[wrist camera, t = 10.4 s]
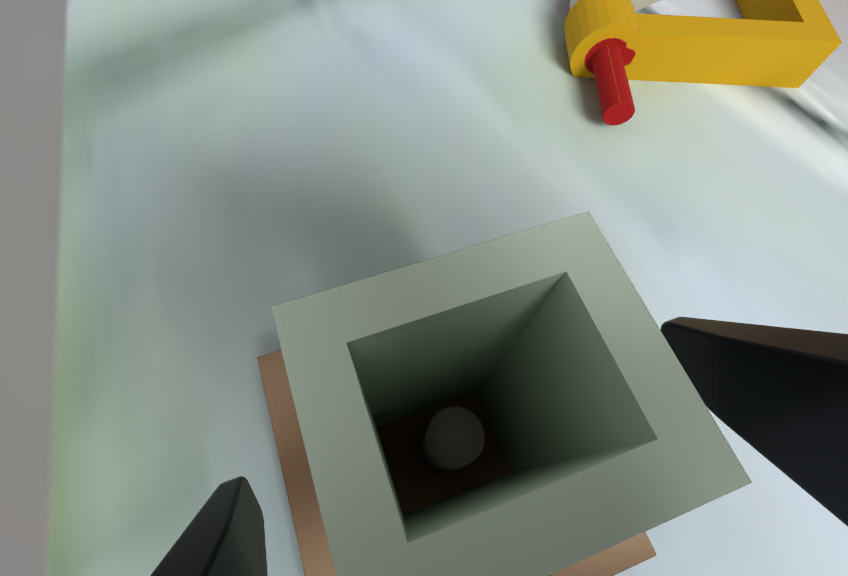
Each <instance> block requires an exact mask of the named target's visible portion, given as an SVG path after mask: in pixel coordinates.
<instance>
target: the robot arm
mask: <svg viewBox="0 0 848 576" xmlns="http://www.w3.org/2000/svg"><path fill="white" fill-rule="evenodd" d="M661 332H662V334H663V336H664V337H665V339H666V341H667V342H668V344H669V346H670V347H671V349H672V351H673V352H674V354H675V356H676V357H677V359H678V360H679V362H680V364H681V365H682V367H683V369H684V370H685V372H686V374H687V375H688V377H689V379H690V380H691V382H692V384H693V385H694V387H695V389H696V390H697V392H698V394H699V395H700V397H701V399H702V400H703V402H704V404H705V405H706V406H707V407H708V408H709V409H710V410H711V411H712V412H713V413H714V414H715V415H716V416H717V417H718V418H719V419H720V420H721V421H723V422H724V423H725V424H726V425H727V426H728V427H730V428H731V429H732V430H733V431H734V432H735V433H737V434H738V435H739V436H740V437H741V438H743V439H744V440H745V441H746V442H747V443H749V444H750V445H751V446H752V447H753V448H755V449H756V450H757V451H758V452H759V453H761V454H762V455H763V456H764V457H765V458H767V459H768V460H769V461H770V462H771V463H773V464H774V465H775V466H776V467H777V468H779V469H780V470H781V471H782V472H783V473H784V474H786V475H787V476H788V477H789V478H790V479H792V480H793V481H794V482H795V483H796V484H798V485H799V486H800V487H801V488H802V489H804V490H805V491H806V492H807V493H808V494H810V495H811V496H812V497H813V498H814V499H816V500H817V501H818V502H819V503H820V504H822V505H823V506H824V507H825V508H826V509H828V510H829V511H830V512H831V513H832V514H834V515H835V516H836V517H837V518H838V519H839V520H841V521H842V522H843V523H844V524H845V525H847V526H848V334H841V333H831V332H821V331H812V330H802V329H793V328H783V327H774V326H764V325H755V324H745V323H736V322H726V321H717V320H707V319H697V318H688V317H677V318H675V319H672V320H669V321H666V322H664V323H663V324H662V326H661ZM150 576H267V562H266V547H265V533H264V520H263V514H262V511H261V508H260V505H259V503H258V501H257V499H256V497H255V495H254V493H253V491H252V489H251V486H250V484H249V482H248V480H247V479H246V478H245V477H243V476H240V477H237V478H234V479H232V480H229V481H226V482H224V483H222V484H220V485H219V486H218V488H217V489H216V490H215V491H214V493H213V494H212V495H211V497H210V498H209V499H208V501H207V502H206V503H205V505H204V506H203V507H202V509H201V510H200V511H199V512H198V514H197V515H196V516H195V518H194V519H193V520H192V522H191V523H190V524H189V526H188V527H187V528H186V530H185V531H184V532H183V533H182V535H181V536H180V537H179V539H178V540H177V541H176V543H175V544H174V545H173V547H172V548H171V549H170V551H169V552H168V553H167V554H166V556H165V557H164V558H163V560H162V561H161V562H160V564H159V565H158V566H157V568H156V569H155V570H154V572H153V573H152V574H151V575H150Z"/></svg>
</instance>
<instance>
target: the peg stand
mask: <svg viewBox="0 0 848 576" xmlns="http://www.w3.org/2000/svg"><path fill="white" fill-rule="evenodd" d="M257 358H258V363H259V368H260V372H261V377H262V381H263V386H264V390H265V395H266V399H267V404H268V408H269V413H270V418H271V422H272V427H273V431H274V436H275V440H276V445H277V449H278V454H279V459H280V463H281V468H282V472H283V477H284V481H285V486H286V490H287V495H288V500H289V504H290V509H291V513H292V518H293V522H294V527H295V531H296V536H297V540H298V545H299V550H300V554H301V559H302V563H303V568H304V572H305V576H336V573H335V569H334V565H333V561H332V557H331V553H330V549H329V544H328V540H327V536H326V532H325V528H324V524H323V520H322V516H321V512H320V507H319V503H318V499H317V495H316V491H315V487H314V483H313V479H312V474H311V470H310V466H309V462H308V458H307V454H306V450H305V446H304V441H303V437H302V433H301V429H300V425H299V421H298V417H297V413H296V409H295V404H294V400H293V396H292V392H291V388H290V384H289V380H288V376H287V371H286V367H285V363H284V359H283V355H282V351H281V350H279V351H276V352H272V353H269V354H266V355H263V356H260V357H257ZM377 430H378V433H379V436H380V440H381V443H382V446H383V449H384V453H385V456H386V459H387V462H388V466H389V469H390V472H391V475H392V479H393V482H394V485H395V488H396V492H397V495H398V498H399V501H400V505H401V508H402V511H403V514H404V515H406V514H409V513H411V512H413V511H416V510H418V509H421V508H423V507H426V506H428V505H431V504H433V503H436V502H438V501H441V500H443V499H446V498H448V497H451V496H453V495H455V494H458V493H460V492H463V491H465V490H468V489H470V488H473V487H475V486H478V485H480V484H483V483H485V482H488V481H490V480H492V479H495V478H497V477H500V476H502V475H505V474H507V473H510V472H511V469H510V467H509V464H508V462H507V460H506V457H505V455H504V452H503V450H502V447H501V445H500V442H499V440H498V438H497V435H496V433H495V430H494V428H493V425H492V423H491V420H490V418H489V416H488V413H487V411H486V408H485V406H484V403H483V401H482V398H481V396H480V393H479V391H477V392H475V393H472V394H469V395H466V396H464V397H461V398H458V399H455V400H453V401H450V402H447V403H444V404H442V405H439V406H436V407H433V408H431V409H428V410H425V411H422V412H420V413H417V414H414V415H411V416H409V417H406V418H403V419H400V420H398V421H395V422H392V423H389V424H387V425H384V426H381V427H378V428H377ZM654 556H656V552H655V550H654V548H653V546H652V544H651V542H650V540H649V538H648V536H647V534H646V532H643V533H641V534H638V535H636V536H634V537H632V538H630V539H627V540H625V541H623V542H621V543H619V544H617V545H614V546H612V547H610V548H608V549H606V550H604V551H601V552H599V553H597V554H595V555H593V556H590V557H588V558H586V559H584V560H582V561H580V562H577V563H575V564H573V565H571V566H569V567H566V568H564V569H562V570H560V571H558V572H556V573H553V574H551V575H549V576H614V575H616V574H618V573H620V572H622V571H624V570H626V569H628V568H631V567H633V566H635V565H637V564H639V563H641V562H643V561H645V560H647V559H650V558H652V557H654Z"/></svg>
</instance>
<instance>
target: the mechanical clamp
mask: <svg viewBox="0 0 848 576" xmlns="http://www.w3.org/2000/svg"><path fill="white" fill-rule="evenodd" d="M658 1H660V0H571V1H570V11H569V13H568V15H567V17H566V19H565V24H564V33H565V40H566V45H567V51H568V57H569V63H570V69H571V72H572V74H573V76H574V77H585V78H595V81H596V86H597V91H598V96H599V101H600V106H601V111H602V116H603V120H604V122H605V123H606V124H609V125H619V124H622V123H624V122H626V121H628V120H629V119H630V118H631V117H632V116H633V115H634V112H635V108H634V104H633V99H632V95H631V91H630V87H629V83H628V80H646V81H666V82H686V83H707V84H727V85H747V86H767V87H787V88H798V87H799V86H800V85H801V84H802V83H803V82H804V81H805V80H806V79H807V78H808V77H809V76H810V75H811V74H812V73H813V72H814V71H815V70H816V69H817V68H818V67H819V66H820V65H821V64H822V63H823V62H824V61H825V60H826V59H827V57H828V56H829V55H830V54H831V53H832V52H833V51H834V50H835V49H836V48H837V47H838V46H839V45H840V44H841V43H842V42H841V40H840V38H839V37H838V35H837V33H836V31H835V29H834V27H833V26H832V24H831V22H830V20H829V18H828V17H827V15H826V13H825V11H824V9H823V7H822V6H821V4H820V2H819V0H736V2H737V4H738V6H739V9H740V11H741V13H742V16H743V18H744V19H732V18H712V17H693V16H674V15H655V14H636V13H635V12H636V11H638V10H640V9H642V8H644V7H647V6H649V5H651V4H653V3H655V2H658Z"/></svg>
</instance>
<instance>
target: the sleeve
mask: <svg viewBox="0 0 848 576" xmlns="http://www.w3.org/2000/svg"><path fill="white" fill-rule="evenodd" d="M271 310H272V314H273V318H274V322H275V326H276V330H277V334H278V338H279V343H280V347H281V351H282V355H283V359H284V363H285V367H286V371H287V376H288V380H289V384H290V388H291V392H292V396H293V400H294V404H295V409H296V413H297V417H298V421H299V425H300V429H301V433H302V437H303V441H304V446H305V450H306V454H307V458H308V462H309V466H310V470H311V474H312V479H313V483H314V487H315V491H316V495H317V499H318V503H319V507H320V512H321V516H322V520H323V524H324V528H325V532H326V536H327V540H328V544H329V549H330V553H331V557H332V561H333V565H334V569H335V573H336V576H549V575H551V574H553V573H556V572H558V571H560V570H562V569H564V568H566V567H569V566H571V565H573V564H575V563H577V562H580V561H582V560H584V559H586V558H588V557H590V556H593V555H595V554H597V553H599V552H601V551H604V550H606V549H608V548H610V547H612V546H614V545H617V544H619V543H621V542H623V541H625V540H627V539H630V538H632V537H634V536H636V535H638V534H641V533H643V532H645V531H647V530H649V529H651V528H654V527H656V526H658V525H660V524H662V523H665V522H667V521H669V520H671V519H673V518H675V517H678V516H680V515H682V514H684V513H686V512H689V511H691V510H693V509H695V508H697V507H699V506H702V505H704V504H706V503H708V502H710V501H712V500H715V499H717V498H719V497H721V496H723V495H726V494H728V493H730V492H732V491H734V490H736V489H739V488H741V487H743V486H745V485H747V484H750V483H752V482H751V480H750V478H749V477H748V475H747V473H746V472H745V470H744V468H743V467H742V465H741V463H740V462H739V460H738V458H737V457H736V455H735V454H734V452H733V450H732V449H731V447H730V445H729V444H728V442H727V440H726V439H725V437H724V435H723V434H722V432H721V430H720V429H719V427H718V425H717V424H716V422H715V420H714V419H713V417H712V415H711V414H710V412H709V410H708V409H707V407H706V405H705V404H704V402H703V400H702V399H701V397H700V395H699V394H698V392H697V390H696V389H695V387H694V385H693V384H692V382H691V380H690V379H689V377H688V375H687V374H686V372H685V370H684V369H683V367H682V365H681V364H680V362H679V360H678V359H677V357H676V356H675V354H674V352H673V351H672V349H671V347H670V346H669V344H668V342H667V341H666V339H665V337H664V336H663V334H662V332H661V331H660V329H659V327H658V326H657V324H656V322H655V321H654V319H653V317H652V316H651V314H650V312H649V311H648V309H647V307H646V306H645V304H644V302H643V301H642V299H641V297H640V296H639V294H638V292H637V291H636V289H635V287H634V286H633V284H632V282H631V281H630V279H629V277H628V276H627V274H626V272H625V271H624V269H623V267H622V266H621V264H620V262H619V261H618V259H617V258H616V256H615V254H614V253H613V251H612V249H611V248H610V246H609V244H608V243H607V241H606V239H605V238H604V236H603V234H602V233H601V231H600V229H599V228H598V226H597V224H596V223H595V221H594V219H593V218H592V216H591V214H590V213H589V212H585V213H582V214H579V215H575V216H572V217H568V218H565V219H562V220H558V221H555V222H552V223H548V224H545V225H542V226H538V227H535V228H532V229H528V230H525V231H522V232H518V233H515V234H512V235H508V236H505V237H502V238H498V239H495V240H492V241H488V242H485V243H482V244H478V245H475V246H472V247H468V248H465V249H462V250H458V251H455V252H452V253H448V254H445V255H442V256H438V257H435V258H432V259H428V260H425V261H422V262H418V263H415V264H412V265H408V266H405V267H402V268H398V269H395V270H391V271H388V272H385V273H381V274H378V275H375V276H371V277H368V278H365V279H361V280H358V281H355V282H351V283H348V284H345V285H341V286H338V287H335V288H331V289H328V290H325V291H321V292H318V293H315V294H311V295H308V296H305V297H301V298H298V299H295V300H291V301H288V302H285V303H281V304H278V305H275V306H271ZM477 391H479V393H480V396H481V398H482V401H483V403H484V406H485V408H486V411H487V413H488V416H489V418H490V420H491V423H492V425H493V428H494V430H495V433H496V435H497V438H498V440H499V442H500V445H501V447H502V450H503V452H504V455H505V457H506V460H507V462H508V464H509V467H510V469H511V472H510V473H507V474H505V475H502V476H500V477H497V478H495V479H492V480H490V481H488V482H485V483H483V484H480V485H478V486H475V487H473V488H470V489H468V490H465V491H463V492H460V493H458V494H455V495H453V496H451V497H448V498H446V499H443V500H441V501H438V502H436V503H433V504H431V505H428V506H426V507H423V508H421V509H418V510H416V511H413V512H411V513H409V514H406V515H404V514H403V511H402V508H401V505H400V501H399V498H398V495H397V492H396V488H395V485H394V482H393V479H392V475H391V472H390V469H389V466H388V462H387V459H386V456H385V453H384V449H383V446H382V443H381V440H380V436H379V433H378V430H377V428H378V427H381V426H384V425H387V424H389V423H392V422H395V421H398V420H400V419H403V418H406V417H409V416H411V415H414V414H417V413H420V412H422V411H425V410H428V409H431V408H433V407H436V406H439V405H442V404H444V403H447V402H450V401H453V400H455V399H458V398H461V397H464V396H466V395H469V394H472V393H475V392H477Z"/></svg>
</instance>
